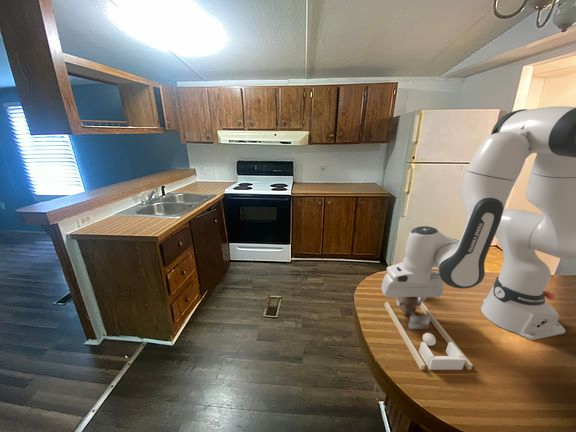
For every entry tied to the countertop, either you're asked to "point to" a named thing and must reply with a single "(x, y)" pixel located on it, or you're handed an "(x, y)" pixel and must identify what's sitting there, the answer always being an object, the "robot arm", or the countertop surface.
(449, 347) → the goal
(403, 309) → the block
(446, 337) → the pitch
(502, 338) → the countertop surface
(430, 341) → the ball
